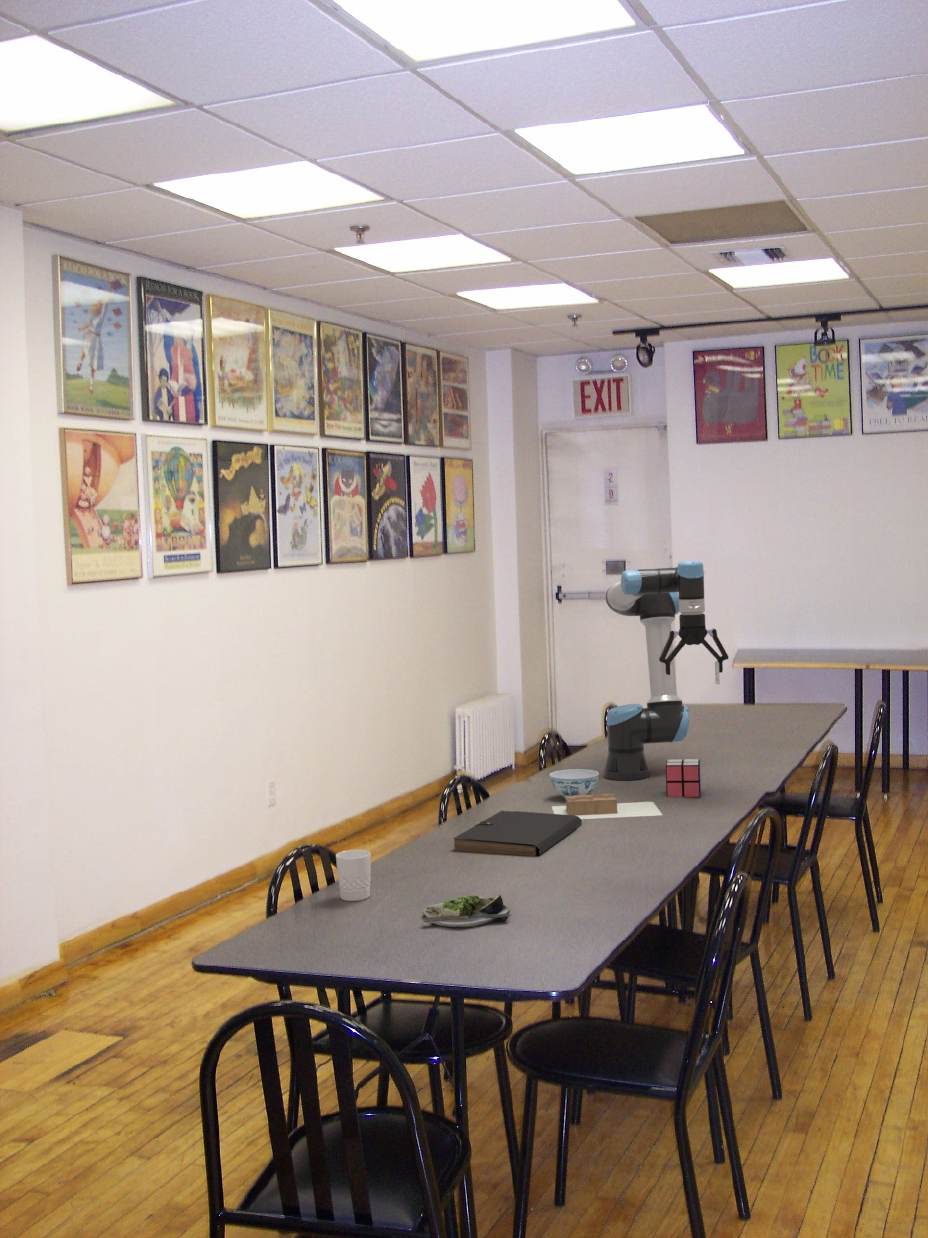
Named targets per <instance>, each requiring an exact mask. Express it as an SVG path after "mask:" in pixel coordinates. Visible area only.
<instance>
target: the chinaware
mask: <svg viewBox="0 0 928 1238" xmlns="http://www.w3.org/2000/svg"><path fill="white" fill-rule="evenodd" d="M599 776H600V773H599V771H597V770H593V769H585V768H584V769H583V768H574V769H573V768H571V769H562V770H556V771H553V772H550V773H549V778H550V781H551V784H552V787H553V788H554V790H555V791H556V792H557V793H558V794H560V796H562V797H563V799H565V800H566V796H576V795H591V793H592V792H593V791H594V790H595V788H596V786H597V784H598V781H599Z"/></svg>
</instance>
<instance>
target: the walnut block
mask: <svg viewBox="0 0 928 1238" xmlns="http://www.w3.org/2000/svg"><path fill="white" fill-rule="evenodd" d="M617 803H618V799H617V797H616V796H615V793H602V794H601V793H600V794H598V793H597V794H588V795H576V796H566V799H565V806H566V810H567V813H568V815H592V814H613V813H617Z"/></svg>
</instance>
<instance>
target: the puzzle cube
mask: <svg viewBox="0 0 928 1238" xmlns="http://www.w3.org/2000/svg"><path fill="white" fill-rule="evenodd" d="M700 761H701V760H700V759H699V758H695V759H694V758H693V759H692V758H691V759H688V758H687V759H682V758H681V759H667V760H666V762H665V781H666V782H665V787H666V788H665V789H666V791H665V792H666V797H667V798H670V797H673V798H674V797H678V798H681V797H683V798H684V797H700V798H701V794H700V793H701V792H702V790H701V788H702V787H701V786H702V785H701V763H700Z"/></svg>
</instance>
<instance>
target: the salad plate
mask: <svg viewBox="0 0 928 1238" xmlns="http://www.w3.org/2000/svg"><path fill="white" fill-rule="evenodd" d="M510 912H511V911H510V908H509V907H507V906H506V905H504V900H503V898H502V895H500V894H499V895H496V896H495V897H486V896H478V895H473V894H472V895H463V896H462V897H461V896H459V897H457V898H456V899H450V900H445V901H444V902H439V903H434V904H429V905H427V906H425V908H424V910H423V911H422V914H423V915H424V916H425V917H423V918H422V922H423V923H429V924H434V925H436V926H439V927H449V928H472V927H477V926H482V925H488V924H493V923H494V924H495V923H497V922H501V921H503V920H505V919H506V918H508V917H510V916H511V915H512V914H510ZM440 914H441V915H440ZM439 915H440V916H439Z"/></svg>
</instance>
